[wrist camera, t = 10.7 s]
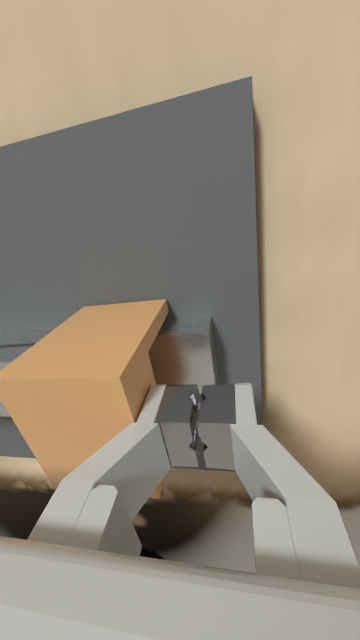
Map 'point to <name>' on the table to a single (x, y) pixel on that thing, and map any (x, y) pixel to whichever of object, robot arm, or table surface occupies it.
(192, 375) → the grey long bar
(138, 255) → the mat
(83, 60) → the table surface
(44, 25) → the table surface
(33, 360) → the light orange block
